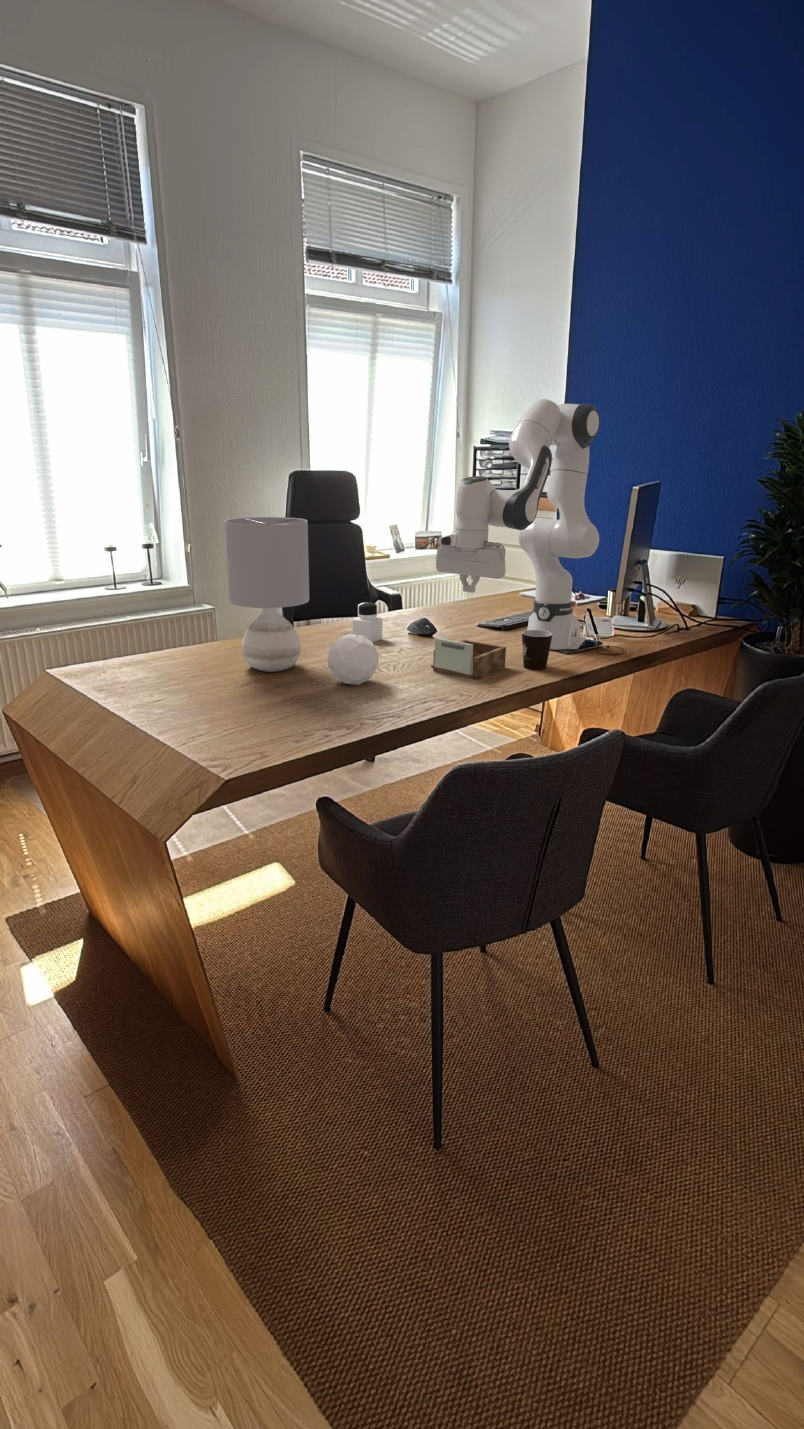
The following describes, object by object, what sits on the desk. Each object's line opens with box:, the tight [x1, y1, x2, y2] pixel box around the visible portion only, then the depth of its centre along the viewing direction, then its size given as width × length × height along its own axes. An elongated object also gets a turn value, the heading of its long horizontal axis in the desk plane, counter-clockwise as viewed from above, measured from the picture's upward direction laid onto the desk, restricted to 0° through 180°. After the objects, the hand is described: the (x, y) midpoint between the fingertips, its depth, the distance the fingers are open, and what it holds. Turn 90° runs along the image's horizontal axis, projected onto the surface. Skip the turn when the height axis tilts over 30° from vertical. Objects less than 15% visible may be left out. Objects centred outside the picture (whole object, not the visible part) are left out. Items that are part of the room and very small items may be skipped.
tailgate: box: [434, 637, 473, 674], centre depth 213 cm, size 1×12×8 cm, turn 54°
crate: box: [430, 639, 507, 680], centre depth 221 cm, size 17×14×6 cm
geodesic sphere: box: [327, 631, 380, 686], centre depth 206 cm, size 14×14×14 cm
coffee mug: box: [521, 629, 553, 671], centre depth 225 cm, size 12×9×10 cm
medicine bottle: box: [351, 602, 383, 644], centre depth 251 cm, size 7×7×12 cm
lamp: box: [224, 516, 310, 673], centre depth 214 cm, size 22×22×40 cm
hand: (468, 591), depth 213 cm, fingers closed
